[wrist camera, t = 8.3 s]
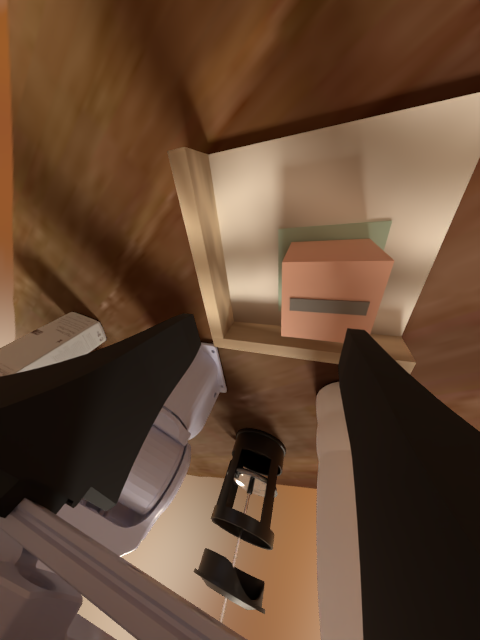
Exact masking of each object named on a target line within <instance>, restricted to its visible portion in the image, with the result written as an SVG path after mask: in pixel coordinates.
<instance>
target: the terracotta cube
mask: <svg viewBox="0 0 480 640" xmlns="http://www.w3.org/2000/svg"><path fill="white" fill-rule="evenodd" d="M393 264H394V260H393V259H392V258H391V257H390V256H389V255H388V254H387V253H385V252H384V251H383V250H382V249H381V248H380V247H379V246H378V245H377V244H375V243H374V242H373V241H372V240H371V239H370V238H369V239H347V240H326V241H304V242H291V244H290V246H289V249H288V251H287V253H286V255H285V257H284V259H283V261H282V305H281V336H285V337H294V338H303V339H312V340H321V341H330V342H339V343H344V339H345V335H346V331H347V328H350V329H361V330H365V331H366V332H367V333H368V334H369V335H370V334H371V331H372V328H373V325H374V321H375V318H376V315H377V312H378V309H379V306H380V303H381V300H382V297H383V294H384V291H385V288H386V285H387V282H388V279H389V276H390V273H391V270H392V267H393Z"/></svg>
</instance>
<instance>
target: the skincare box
mask: <svg viewBox="0 0 480 640" xmlns="http://www.w3.org/2000/svg"><path fill="white" fill-rule="evenodd" d="M105 341H106V336H105V333H104V331H103V328H102V326H101V324H100V322H99V321H97V320H94V319H91V318H89V317H86V316H84V315H81V314H78V313H75V312H70V313H68V314H66V315H64V316H62V317H60V318H58V319H56V320H54V321H52V322H50V323H49V324H47V325H45V326H43V327H41V328H39V329H37V330H35V331H33V332H31V333H29V334H27V335H25V336H23V337H21V338H19V339H17V340H15V341H13V342H12V343H10V344H8V345H6V346H4V347H2V348H0V376H5V375H10V374H15V373H19V372H24V371H28V370H32V369H36V368H40V367H44V366H48V365H51V364H55V363H59V362H62V361H65V360H69V359H72V358H75V357H78V356H81V355H85V354H88V353H89V352H91V351H92V350H93V349H95V348H96V347H98V346H99V345H100V344H102V343H103V342H105Z"/></svg>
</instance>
